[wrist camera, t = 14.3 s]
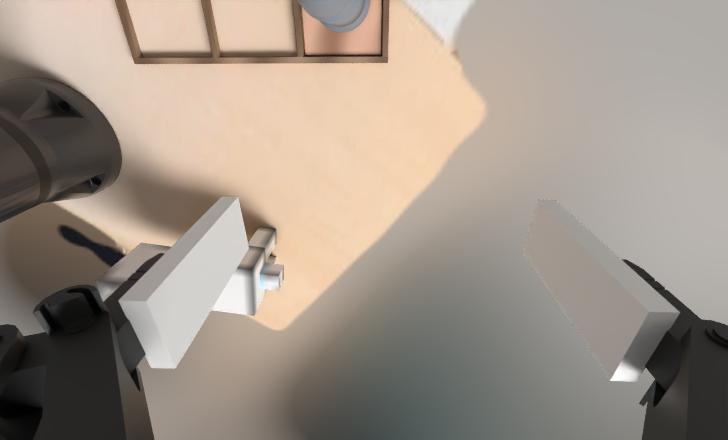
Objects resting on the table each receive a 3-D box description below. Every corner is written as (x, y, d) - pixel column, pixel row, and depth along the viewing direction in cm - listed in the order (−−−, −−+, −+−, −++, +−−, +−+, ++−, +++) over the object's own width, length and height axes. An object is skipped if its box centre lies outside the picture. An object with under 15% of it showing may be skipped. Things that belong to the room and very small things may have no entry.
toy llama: (291, 271, 52) (244, 389, 34) (182, 256, 52) (77, 367, 34) (292, 231, 48) (240, 339, 31) (174, 215, 48) (53, 315, 30)
